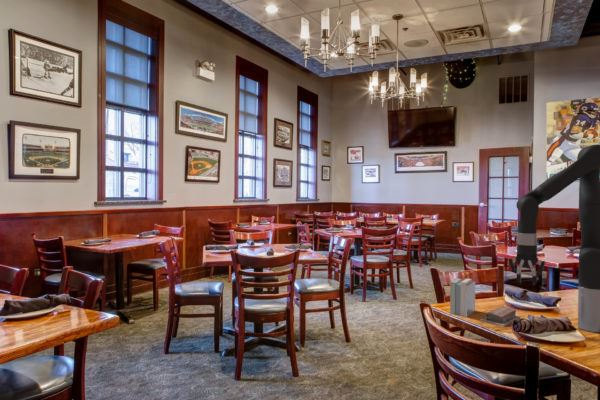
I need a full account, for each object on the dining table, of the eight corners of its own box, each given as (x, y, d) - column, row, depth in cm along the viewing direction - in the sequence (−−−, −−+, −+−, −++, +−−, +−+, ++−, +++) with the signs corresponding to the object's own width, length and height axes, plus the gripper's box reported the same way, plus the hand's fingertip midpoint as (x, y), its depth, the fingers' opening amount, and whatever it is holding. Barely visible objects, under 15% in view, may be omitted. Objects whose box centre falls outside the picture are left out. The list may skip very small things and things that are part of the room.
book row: (471, 310, 194) (471, 279, 194) (465, 315, 186) (465, 282, 186) (456, 308, 198) (456, 277, 198) (450, 313, 190) (450, 280, 190)
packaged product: (497, 304, 191) (520, 308, 183) (497, 314, 191) (520, 319, 183) (480, 311, 179) (503, 316, 171) (479, 322, 179) (503, 328, 171)
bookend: (475, 311, 195) (475, 281, 195) (467, 318, 184) (467, 286, 184) (458, 308, 200) (458, 279, 200) (449, 315, 189) (450, 284, 188)
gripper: (547, 244, 174) (547, 284, 174) (509, 241, 182) (509, 280, 183) (545, 245, 168) (544, 287, 168) (506, 243, 176) (506, 283, 177)
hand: (526, 283), depth 175 cm, fingers open, 4 cm apart
